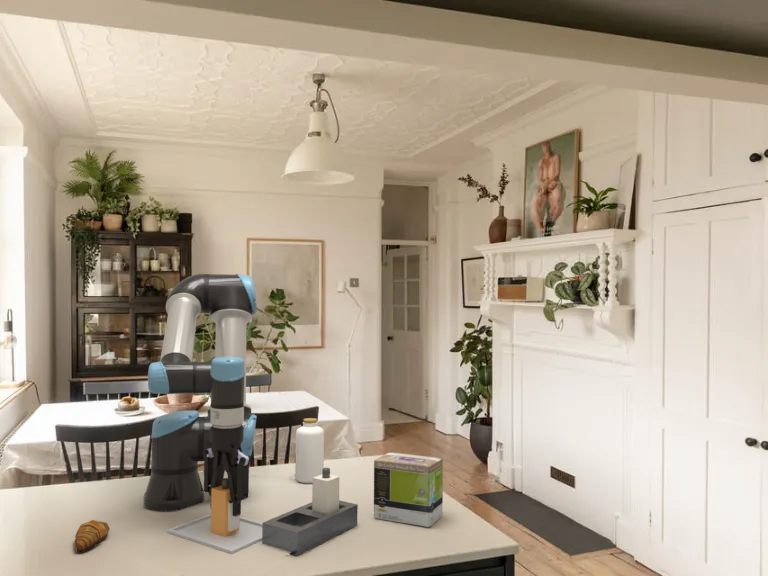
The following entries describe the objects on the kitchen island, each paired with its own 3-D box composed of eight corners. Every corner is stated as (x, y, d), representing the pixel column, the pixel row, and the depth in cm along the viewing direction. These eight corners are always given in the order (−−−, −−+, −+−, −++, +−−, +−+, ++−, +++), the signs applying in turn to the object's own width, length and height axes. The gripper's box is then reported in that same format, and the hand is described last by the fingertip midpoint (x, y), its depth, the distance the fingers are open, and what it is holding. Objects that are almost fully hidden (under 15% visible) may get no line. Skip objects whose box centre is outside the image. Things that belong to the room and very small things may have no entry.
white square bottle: (311, 520, 151) (312, 469, 151) (323, 515, 155) (324, 465, 155) (327, 524, 149) (327, 472, 149) (338, 518, 152) (339, 468, 152)
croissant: (89, 531, 148) (89, 509, 148) (118, 531, 148) (119, 509, 148) (62, 555, 135) (62, 531, 135) (95, 555, 135) (95, 531, 135)
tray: (166, 535, 146) (166, 529, 146) (219, 515, 160) (219, 510, 160) (231, 556, 135) (231, 551, 135) (283, 533, 148) (283, 528, 148)
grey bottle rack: (262, 545, 141) (262, 522, 141) (324, 517, 159) (324, 496, 159) (296, 556, 135) (297, 532, 136) (357, 525, 154) (357, 504, 154)
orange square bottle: (210, 532, 146) (211, 479, 147) (225, 526, 150) (226, 475, 150) (224, 536, 144) (225, 483, 144) (239, 530, 148) (240, 478, 148)
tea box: (443, 516, 162) (444, 457, 162) (429, 529, 152) (430, 466, 153) (388, 506, 168) (389, 450, 168) (372, 518, 159) (373, 458, 159)
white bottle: (318, 485, 185) (319, 422, 186) (291, 483, 187) (292, 421, 187) (326, 477, 194) (327, 417, 194) (300, 475, 195) (301, 416, 195)
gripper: (188, 423, 149) (186, 523, 149) (242, 432, 139) (240, 540, 139) (212, 417, 155) (211, 514, 155) (266, 427, 146) (264, 530, 146)
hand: (225, 526), depth 147 cm, fingers closed on orange square bottle, 4 cm apart
